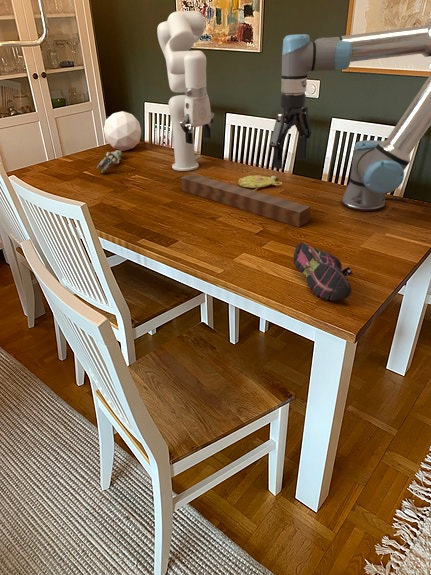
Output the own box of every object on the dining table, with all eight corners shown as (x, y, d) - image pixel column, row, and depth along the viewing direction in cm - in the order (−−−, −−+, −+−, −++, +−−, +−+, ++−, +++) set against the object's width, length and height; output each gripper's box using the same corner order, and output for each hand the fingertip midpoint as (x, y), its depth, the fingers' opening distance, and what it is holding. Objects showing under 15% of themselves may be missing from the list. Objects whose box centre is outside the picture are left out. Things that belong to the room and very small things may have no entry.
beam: (181, 190, 183) (181, 177, 180) (192, 186, 187) (191, 173, 184) (298, 227, 150) (300, 212, 147) (309, 221, 154) (310, 206, 151)
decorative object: (249, 169, 197) (291, 174, 187) (250, 175, 198) (291, 179, 189) (226, 183, 183) (269, 189, 173) (226, 189, 184) (269, 195, 174)
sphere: (117, 161, 243) (97, 129, 240) (149, 144, 245) (129, 111, 242) (115, 152, 224) (93, 117, 222) (149, 133, 226) (128, 98, 224)
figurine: (101, 154, 197) (119, 141, 223) (91, 167, 200) (110, 152, 227) (114, 165, 199) (130, 151, 225) (103, 178, 203) (121, 162, 229)
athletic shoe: (338, 290, 105) (377, 282, 109) (296, 227, 116) (333, 222, 121) (320, 318, 113) (358, 309, 118) (283, 256, 125) (319, 251, 129)
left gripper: (186, 97, 152) (189, 147, 162) (220, 89, 163) (220, 137, 172) (171, 94, 157) (175, 143, 166) (205, 87, 167) (206, 133, 177)
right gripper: (279, 101, 124) (277, 175, 136) (325, 88, 139) (320, 155, 151) (258, 98, 129) (257, 170, 140) (305, 86, 144) (301, 152, 155)
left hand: (198, 140), depth 169 cm, fingers open, 9 cm apart
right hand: (290, 163), depth 145 cm, fingers open, 13 cm apart
